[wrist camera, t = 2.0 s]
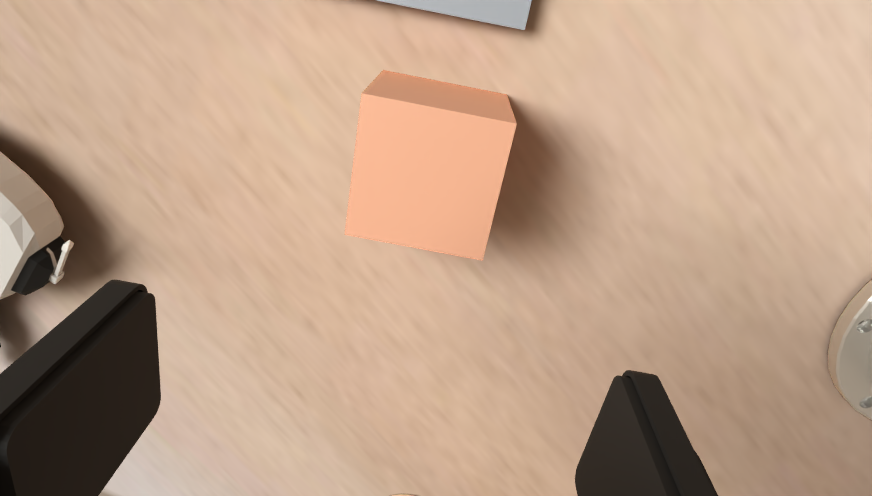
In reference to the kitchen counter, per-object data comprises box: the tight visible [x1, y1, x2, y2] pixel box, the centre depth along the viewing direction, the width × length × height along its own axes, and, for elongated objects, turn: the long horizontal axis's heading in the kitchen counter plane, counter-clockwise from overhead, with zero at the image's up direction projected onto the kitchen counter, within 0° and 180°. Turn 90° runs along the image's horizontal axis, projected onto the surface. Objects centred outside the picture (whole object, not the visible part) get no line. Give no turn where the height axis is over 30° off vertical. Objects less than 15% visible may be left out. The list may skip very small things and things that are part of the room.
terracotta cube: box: [345, 70, 517, 261], centre depth 25 cm, size 6×6×6 cm
